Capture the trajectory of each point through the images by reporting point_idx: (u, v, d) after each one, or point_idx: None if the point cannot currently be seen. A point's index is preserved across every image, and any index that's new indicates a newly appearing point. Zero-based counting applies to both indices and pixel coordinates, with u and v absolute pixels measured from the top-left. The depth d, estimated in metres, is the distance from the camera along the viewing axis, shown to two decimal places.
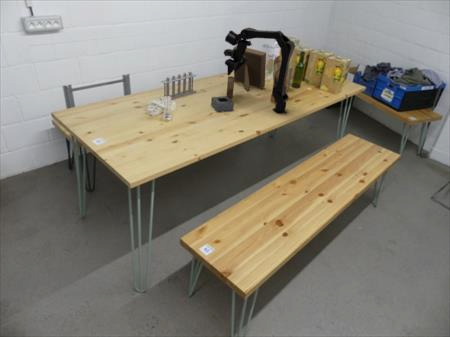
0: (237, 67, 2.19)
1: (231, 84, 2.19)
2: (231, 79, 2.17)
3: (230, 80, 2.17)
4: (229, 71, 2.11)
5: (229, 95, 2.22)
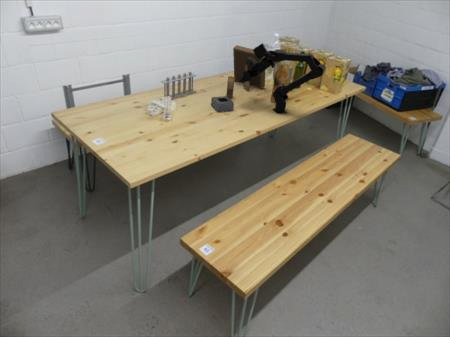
0: None
1: (231, 84, 2.19)
2: (231, 79, 2.17)
3: (230, 80, 2.17)
4: (243, 80, 2.09)
5: (229, 95, 2.22)
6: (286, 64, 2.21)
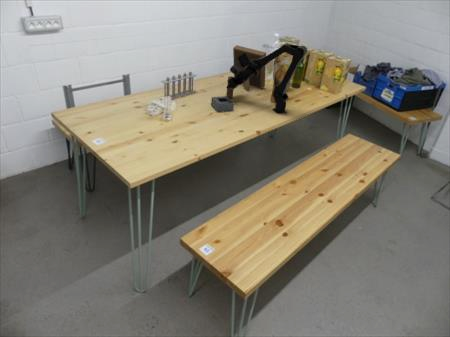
0: None
1: None
2: None
3: None
4: (229, 86, 2.18)
5: (229, 95, 2.22)
6: (286, 64, 2.21)
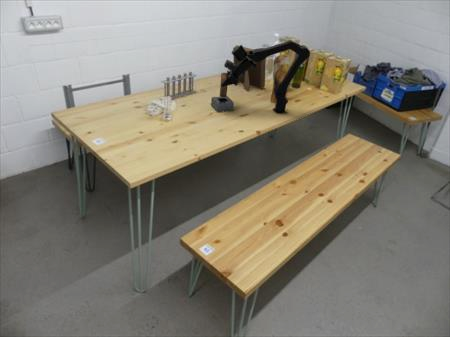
0: None
1: None
2: (226, 76, 2.00)
3: (225, 77, 2.00)
4: (226, 83, 2.01)
5: (224, 93, 2.05)
6: (286, 64, 2.21)
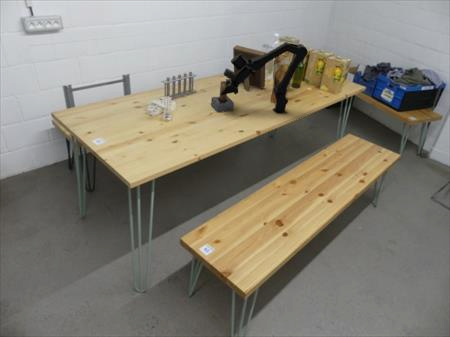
0: None
1: None
2: (226, 84, 2.01)
3: (225, 85, 2.02)
4: (225, 92, 2.02)
5: (224, 101, 2.07)
6: (286, 64, 2.21)
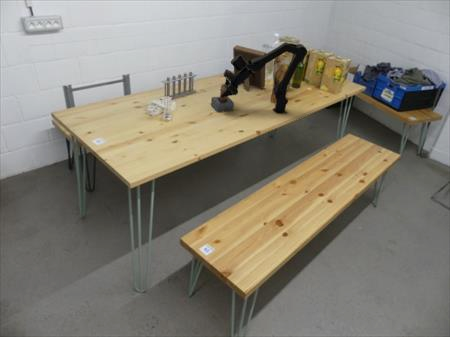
0: None
1: None
2: (226, 87, 2.03)
3: (225, 88, 2.03)
4: (225, 94, 2.00)
5: None
6: (286, 64, 2.21)
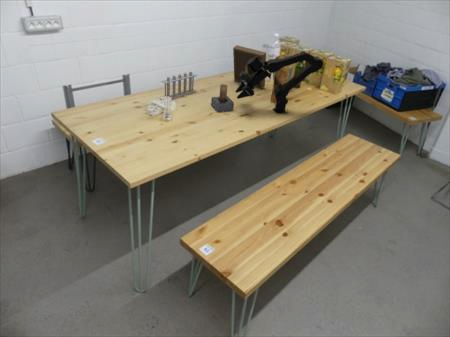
0: (240, 89, 2.10)
1: (225, 93, 2.04)
2: (225, 87, 2.02)
3: (224, 89, 2.03)
4: (241, 95, 2.01)
5: None
6: None
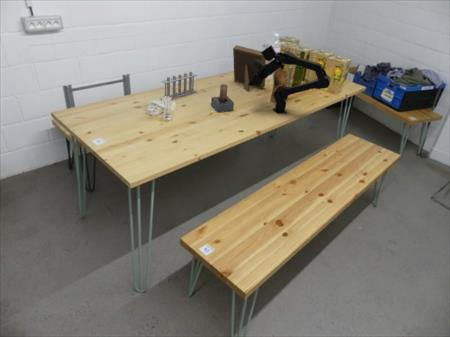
0: None
1: (225, 93, 2.04)
2: (225, 87, 2.03)
3: (224, 89, 2.03)
4: (252, 83, 2.05)
5: None
6: (286, 64, 2.21)
